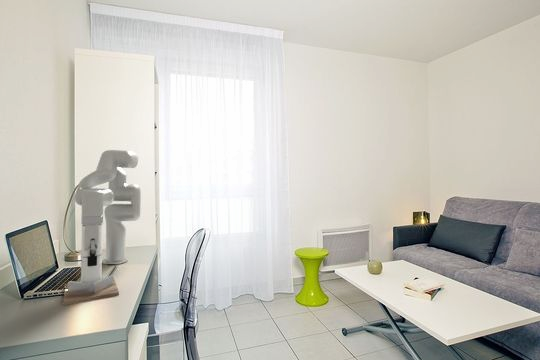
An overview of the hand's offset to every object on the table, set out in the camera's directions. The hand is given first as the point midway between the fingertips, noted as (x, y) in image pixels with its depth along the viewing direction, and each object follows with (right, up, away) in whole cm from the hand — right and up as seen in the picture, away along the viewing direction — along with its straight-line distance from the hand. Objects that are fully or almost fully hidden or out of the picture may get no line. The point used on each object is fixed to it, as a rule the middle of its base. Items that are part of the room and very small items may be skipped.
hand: (91, 262), depth 118 cm
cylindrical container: (0, -10, 0) cm, 10 cm away
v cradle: (0, -12, 0) cm, 12 cm away
